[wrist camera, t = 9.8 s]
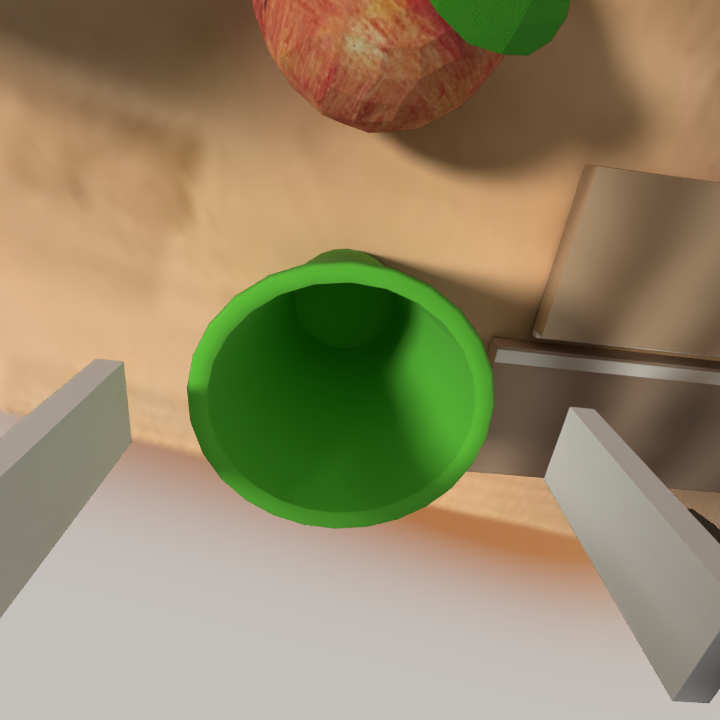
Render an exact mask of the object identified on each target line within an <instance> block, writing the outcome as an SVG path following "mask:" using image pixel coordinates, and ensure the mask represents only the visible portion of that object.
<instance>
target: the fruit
mask: <svg viewBox="0 0 720 720" xmlns="http://www.w3.org/2000/svg"><path fill="white" fill-rule="evenodd" d="M252 2H253V9H254V13H255V16H256V18H257V21H258V24H259V27H260V29H261V32H262V35H263V37H264V40H265V43H266V45H267V48H268V51H269V53H270V54H271V56H272V57H273V59H274V60H275V62H276V63H277V65H278V66H279V68H280V69H281V71H282V72H283V74H284V76H285V77H286V79H287V80H288V82H289V83H290V85H291V86H292V87H293V88H294V89H295V90H296V91H297V92H298V93H299V94H301V95H302V96H303V97H304V98H305V99H306V100H307V101H308V102H309V103H310V104H311V105H312V106H314V107H315V108H316V109H317V110H318V111H319V112H320V113H321V114H322V115H324V116H326V117H329V118H331V119H334V120H336V121H338V122H341V123H343V124H346V125H349V126H351V127H354V128H357V129H360V130H363V131H365V132H368V133H371V132H386V131H400V130H415V129H418V128H420V127H422V126H425V125H427V124H429V123H431V122H433V121H435V120H437V119H439V118H441V117H443V116H445V115H446V114H448V113H450V112H451V111H453V110H455V109H456V108H458V107H459V106H461V105H462V104H463V103H464V102H465V101H466V100H468V99H469V98H470V97H471V96H472V95H473V94H474V93H475V92H476V91H477V89H478V88H479V87H480V86H481V85H482V83H483V82H484V81H485V80H486V79H487V77H488V76H489V75H490V74H491V73H492V71H493V70H494V69H495V68H496V67H497V65H498V64H499V63H500V62H501V61H502V59H503V57H504V55H526V56H528V55H529V54H531V53H533V52H534V51H536V50H538V49H539V48H541V47H542V46H544V45H546V44H547V43H549V42H550V41H551V40H552V38H553V37H554V36H555V34H556V33H557V31H558V30H559V28H560V27H561V25H562V24H563V22H564V21H565V20H566V18H567V14H568V9H569V4H570V0H252Z"/></svg>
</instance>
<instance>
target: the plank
mask: <svg viewBox="0 0 720 720" xmlns="http://www.w3.org/2000/svg"><path fill="white" fill-rule="evenodd" d="M532 335H533V336H534V337H535V338H542V339H551V340H560V341H570V342H579V343H588V344H598V345H607V346H616V347H626V348H635V349H644V350H654V351H663V352H672V353H682V354H691V355H700V356H710V357H719V358H720V183H718V182H711V181H704V180H696V179H689V178H682V177H675V176H667V175H660V174H653V173H646V172H638V171H631V170H624V169H616V168H609V167H602V166H595V165H587V164H585V166H584V169H583V172H582V175H581V178H580V182H579V185H578V188H577V191H576V194H575V197H574V200H573V204H572V207H571V210H570V213H569V216H568V219H567V222H566V226H565V229H564V232H563V235H562V238H561V241H560V244H559V248H558V251H557V254H556V257H555V260H554V263H553V266H552V270H551V273H550V276H549V279H548V282H547V285H546V288H545V292H544V295H543V298H542V301H541V304H540V307H539V310H538V314H537V317H536V320H535V323H534V326H533V332H532Z"/></svg>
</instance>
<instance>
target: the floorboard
mask: <svg viewBox="0 0 720 720" xmlns="http://www.w3.org/2000/svg"><path fill="white" fill-rule="evenodd" d="M487 356H488V359H489V362H490V365H491V368H492V371H493V386H494V407H493V412H492V416H491V420H490V425H489V429H488V434H487V437H486V439H485V441H484V443H483V445H482V447H481V448H480V450H479V452H478V454H477V456H476V458H475V460H474V462H473V464H472V465H471V466H470V468H469V469H468V470H467V471H468V472H480V473H492V474H504V475H516V476H528V477H540V478H544V477H545V474H546V472H547V469H548V466H549V463H550V461H551V458H552V455H553V452H554V449H555V447H556V444H557V441H558V438H559V436H560V433H561V430H562V427H563V424H564V422H565V419H566V416H567V413H568V411H569V408H570V407H578V408H588V409H595V410H596V412H597V413H598V414H599V415H600V416H601V417H602V418H603V419H604V420H605V421H606V422H607V423H608V424H609V426H610V427H611V428H612V429H613V430H614V431H615V432H616V433H617V434H618V435H619V436H620V437H621V438H622V440H623V441H624V442H625V443H626V444H627V445H628V446H629V447H630V448H631V449H632V450H633V451H634V452H635V453H636V455H637V456H638V457H639V458H640V459H641V460H642V461H643V462H644V463H645V464H646V465H647V466H648V467H649V469H650V470H651V471H652V472H653V473H654V474H655V475H656V476H657V477H658V478H659V479H660V480H661V481H662V483H663V484H664V485H665V486H666V487H667V488H671V489H683V490H695V491H707V492H719V493H720V361H711V360H702V359H692V358H683V357H673V356H664V355H655V354H645V353H636V352H627V351H617V350H608V349H598V348H589V347H580V346H570V345H561V344H551V343H542V342H533V341H523V340H514V339H505V338H495V337H492V338H491V342H490V345H489V349H488V353H487Z"/></svg>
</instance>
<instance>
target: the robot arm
mask: <svg viewBox="0 0 720 720" xmlns="http://www.w3.org/2000/svg"><path fill="white" fill-rule="evenodd" d="M131 443H132V441H131V431H130V421H129V411H128V401H127V391H126V381H125V371H124V362H123V361H113V360H103V359H95V360H94V361H92V362H91V363H90V364H89V365H88V366H86V367H85V368H84V369H83V370H81V371H80V372H79V373H78V374H77V375H75V376H74V377H73V378H72V379H71V380H69V381H68V382H67V383H66V384H64V385H63V386H62V387H61V388H60V389H58V390H57V391H56V392H55V393H54V394H52V395H51V396H50V397H49V398H47V399H46V400H45V401H44V402H43V403H41V404H40V405H39V406H38V407H37V408H35V409H34V410H33V411H32V412H30V413H29V414H28V415H27V416H26V417H24V418H23V419H22V420H21V421H20V422H18V423H17V424H16V425H15V426H14V427H12V428H11V429H10V430H9V431H8V432H6V433H5V434H4V435H3V436H1V437H0V618H1V616H2V615H3V614H4V612H5V611H6V610H7V608H8V607H9V606H10V604H11V603H12V601H13V600H14V599H15V598H16V596H17V595H18V594H19V592H20V591H21V590H22V588H23V587H24V585H25V584H26V583H27V582H28V580H29V579H30V578H31V576H32V575H33V574H34V572H35V571H36V570H37V568H38V567H39V566H40V564H41V563H42V561H43V560H44V559H45V558H46V556H47V555H48V554H49V552H50V551H51V550H52V548H53V547H54V546H55V544H56V543H57V542H58V540H59V539H60V537H61V536H62V535H63V533H64V532H65V531H66V530H67V528H68V527H69V525H70V524H71V523H72V521H73V520H74V519H75V517H76V516H77V515H78V513H79V512H80V511H81V509H82V508H83V507H84V505H85V504H86V503H87V501H88V500H89V499H90V497H91V496H92V495H93V493H94V492H95V491H96V489H97V488H98V487H99V485H100V484H101V482H102V481H103V480H104V479H105V477H106V476H107V475H108V473H109V472H110V471H111V469H112V468H113V467H114V465H115V464H116V463H117V461H118V460H119V459H120V457H121V456H122V455H123V453H124V452H125V451H126V449H127V448H128V446H129V445H130V444H131ZM544 481H545V482H546V484H547V486H548V488H549V489H550V491H551V493H552V494H553V496H554V498H555V500H556V501H557V503H558V505H559V507H560V508H561V510H562V512H563V513H564V515H565V517H566V519H567V520H568V522H569V524H570V525H571V527H572V529H573V531H574V532H575V534H576V536H577V538H578V539H579V541H580V543H581V544H582V546H583V547H584V550H585V551H586V553H587V555H588V557H589V558H590V560H591V562H592V563H593V565H594V567H595V568H596V570H597V572H598V574H599V575H600V577H601V579H602V581H603V582H604V584H605V586H606V587H607V589H608V591H609V592H610V594H611V596H612V598H613V600H614V601H615V603H616V605H617V607H618V608H619V610H620V612H621V613H622V615H623V617H624V619H625V620H626V622H627V624H628V625H629V627H630V629H631V631H632V632H633V634H634V636H635V637H636V639H637V641H638V643H639V644H640V646H641V648H642V650H643V651H644V653H645V655H646V656H647V658H648V660H649V662H650V663H651V665H652V667H653V668H654V670H655V672H656V674H657V675H658V677H659V679H660V681H661V682H662V684H663V686H664V688H665V689H666V691H667V693H668V694H669V696H670V698H671V700H672V701H682V702H698V703H710V701H711V700H712V699H713V697H714V696H715V695H716V693H717V692H718V690H719V689H720V530H719V529H718V528H717V527H716V526H715V525H714V524H713V523H711V522H710V521H708V520H707V519H705V518H704V517H703V516H701V515H700V514H698V513H697V512H696V511H694V510H693V509H687V508H686V507H685V506H684V505H683V504H682V503H681V502H680V501H679V500H678V499H677V498H676V497H675V495H674V494H673V493H672V492H671V491H670V490H669V489H668V488H667V487H666V486H665V485H664V484H663V483H662V481H661V480H660V479H659V478H658V477H657V476H656V475H655V474H654V473H653V472H652V471H651V470H650V469H649V467H648V466H647V465H646V464H645V463H644V462H643V461H642V460H641V459H640V458H639V457H638V456H637V455H636V453H635V452H634V451H633V450H632V449H631V448H630V447H629V446H628V445H627V444H626V443H625V442H624V441H623V440H622V438H621V437H620V436H619V435H618V434H617V433H616V432H615V431H614V430H613V429H612V428H611V427H610V426H609V424H608V423H607V422H606V421H605V420H604V419H603V418H602V417H601V416H600V415H599V414H598V413H597V412H596V410H595V409H588V408H578V407H570V408H569V411H568V413H567V416H566V419H565V422H564V424H563V427H562V430H561V433H560V436H559V438H558V441H557V444H556V447H555V449H554V452H553V455H552V458H551V461H550V463H549V466H548V469H547V472H546V474H545V477H544Z"/></svg>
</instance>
